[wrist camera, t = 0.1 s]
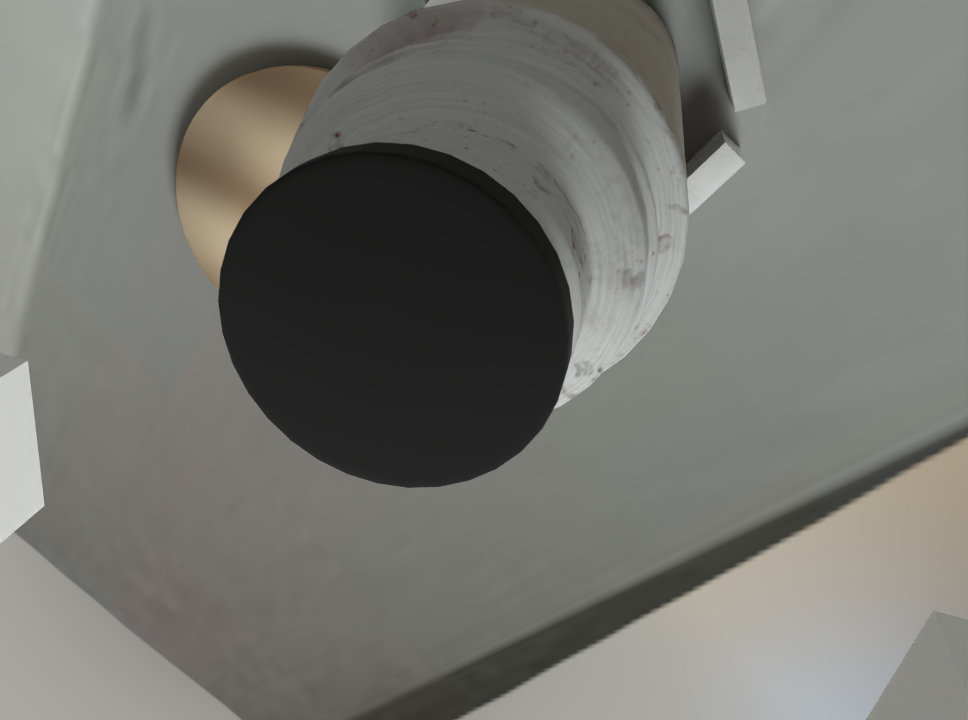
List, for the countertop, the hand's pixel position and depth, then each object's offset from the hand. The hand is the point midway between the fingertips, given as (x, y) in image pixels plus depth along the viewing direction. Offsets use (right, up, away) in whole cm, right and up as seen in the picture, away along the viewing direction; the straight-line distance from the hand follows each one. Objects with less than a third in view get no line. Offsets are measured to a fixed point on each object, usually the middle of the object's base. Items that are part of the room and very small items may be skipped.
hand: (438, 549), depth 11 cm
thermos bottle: (+5, +15, +24) cm, 29 cm away
